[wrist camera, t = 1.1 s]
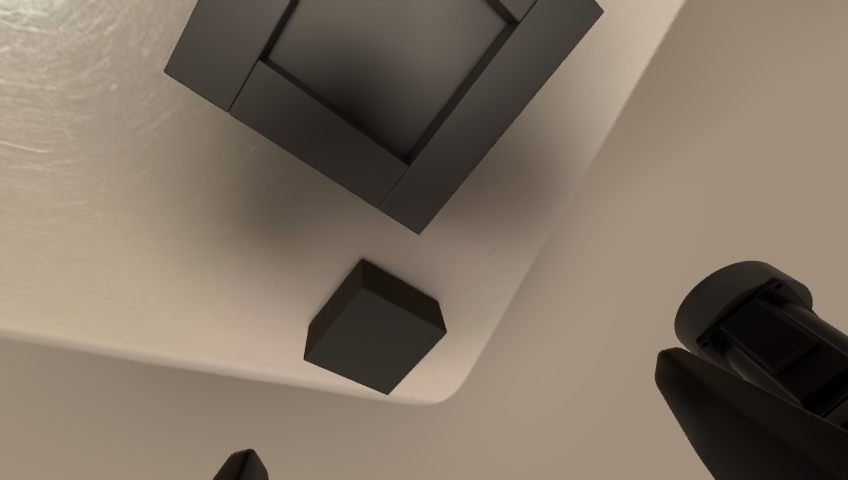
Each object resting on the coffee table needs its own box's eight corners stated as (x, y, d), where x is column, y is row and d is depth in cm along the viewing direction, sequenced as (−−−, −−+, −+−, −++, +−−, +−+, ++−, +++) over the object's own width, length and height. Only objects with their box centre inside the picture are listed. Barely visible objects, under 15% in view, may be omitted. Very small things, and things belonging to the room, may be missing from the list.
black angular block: (438, 301, 24) (447, 332, 22) (384, 361, 26) (387, 396, 24) (361, 258, 22) (362, 287, 20) (308, 325, 24) (302, 360, 21)
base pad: (580, 12, 18) (604, 11, 16) (414, 217, 22) (419, 235, 20) (347, -254, 13) (345, -299, 11) (183, 66, 17) (162, 71, 15)
